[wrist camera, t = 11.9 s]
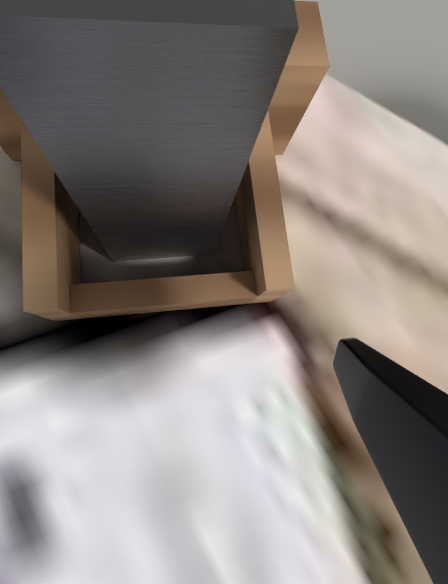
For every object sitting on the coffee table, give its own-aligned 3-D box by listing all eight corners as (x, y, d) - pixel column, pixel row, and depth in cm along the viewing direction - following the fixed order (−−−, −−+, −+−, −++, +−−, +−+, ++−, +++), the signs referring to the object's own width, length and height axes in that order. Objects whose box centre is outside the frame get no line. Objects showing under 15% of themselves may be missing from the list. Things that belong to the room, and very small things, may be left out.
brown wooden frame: (304, 298, 18) (367, 269, 12) (13, 324, 16) (-83, 305, 10) (275, 106, 20) (317, 2, 14) (11, 106, 18) (-69, -19, 12)
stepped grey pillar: (213, 254, 18) (298, 28, 6) (112, 260, 17) (-47, 13, 5) (203, 161, 19) (258, -210, 6) (106, 163, 18) (-39, -256, 6)
